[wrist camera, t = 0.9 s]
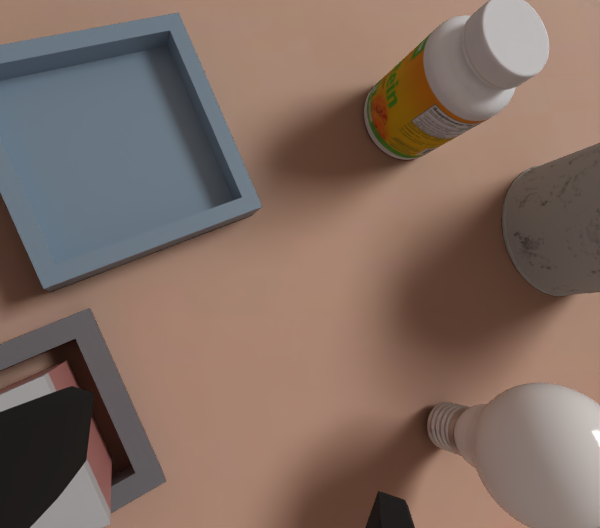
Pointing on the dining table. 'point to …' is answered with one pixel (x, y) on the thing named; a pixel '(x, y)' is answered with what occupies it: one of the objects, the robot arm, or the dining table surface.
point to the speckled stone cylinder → (556, 224)
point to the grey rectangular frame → (112, 391)
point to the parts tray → (113, 148)
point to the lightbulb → (530, 452)
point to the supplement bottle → (456, 78)
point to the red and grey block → (92, 475)
